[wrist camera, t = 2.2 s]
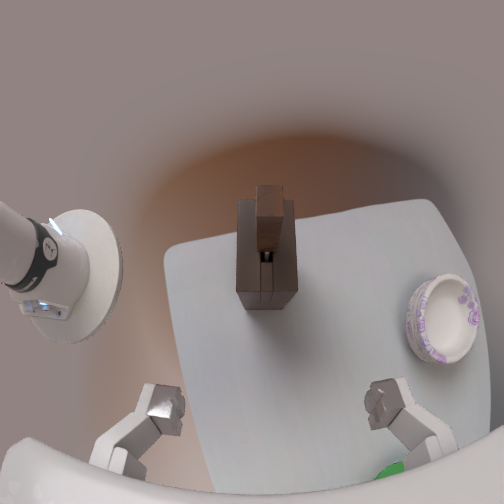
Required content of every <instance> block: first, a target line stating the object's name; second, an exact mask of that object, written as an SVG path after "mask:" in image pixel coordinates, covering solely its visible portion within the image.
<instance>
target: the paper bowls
mask: <svg viewBox="0 0 504 504" xmlns="http://www.w3.org/2000/svg"><path fill="white" fill-rule="evenodd" d="M405 325H406V334H407V338H408V342H409V344H410V346H411V348H412V350H413V351H414V353H415V354H416V355H417V356H418V357H419V358H420V359H421V360H423V361H425V362H429V363H436V364H452V363H455V362H457V361H459V360H460V359H462V358H463V357H464V356H465V355H466V354H467V353H468V352H469V351H470V349H471V347H472V346H473V344H474V341H475V339H476V336H477V332H478V327H479V308H478V303H477V299H476V296H475V294H474V292H473V290H472V288H471V287H470V285H469V284H468V283H467V282H466V281H465V280H464V279H463V278H461V277H459V276H457V275H455V274H443V275H440V276H438V277H435V278H433V279H430V280H428V281H426V282H424V283H422V284H421V285H420V286H419V287H418V288H417V289H416V291H415V292H414V294H413V295H412V297H411V299H410V301H409V304H408V308H407V312H406V322H405Z"/></svg>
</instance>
